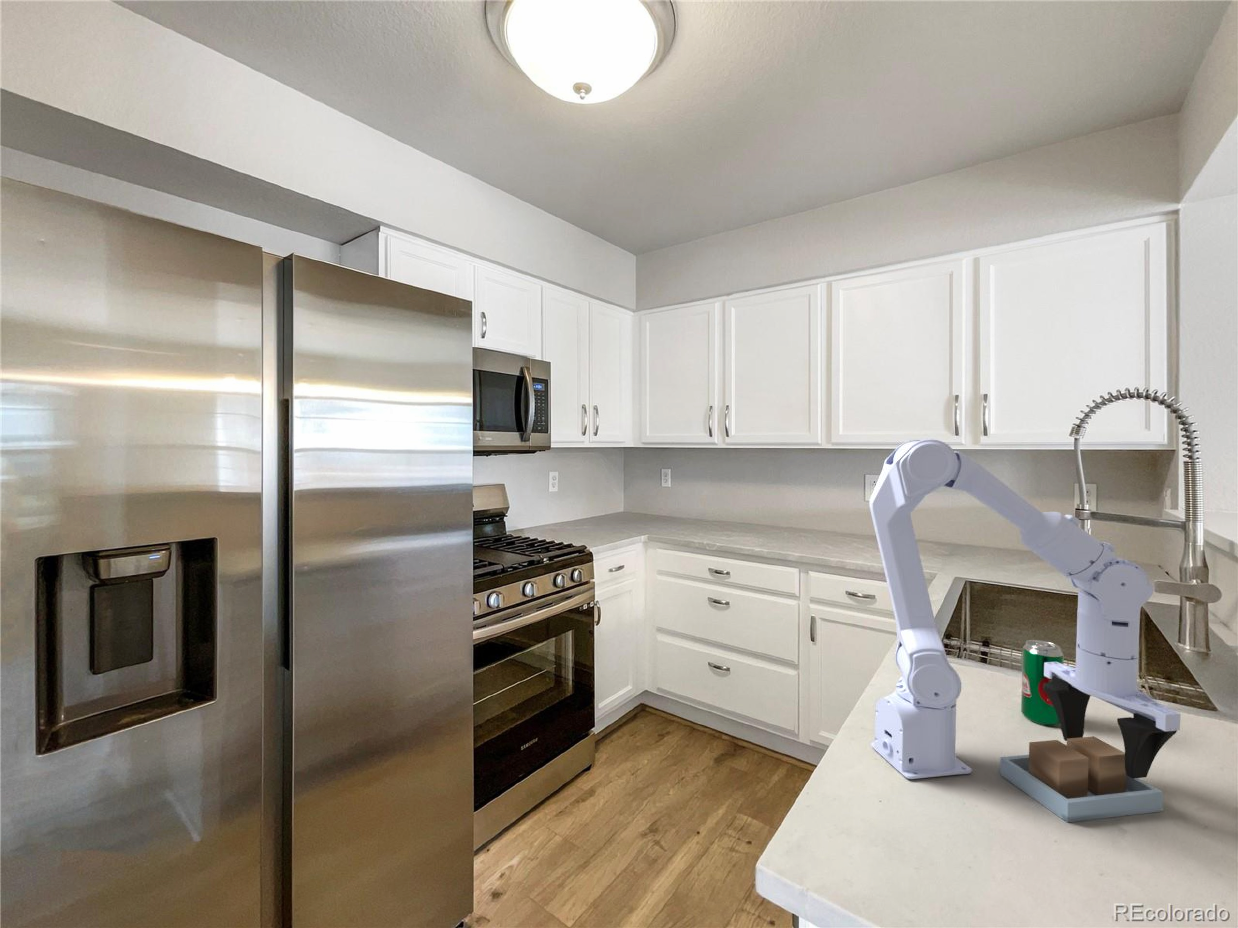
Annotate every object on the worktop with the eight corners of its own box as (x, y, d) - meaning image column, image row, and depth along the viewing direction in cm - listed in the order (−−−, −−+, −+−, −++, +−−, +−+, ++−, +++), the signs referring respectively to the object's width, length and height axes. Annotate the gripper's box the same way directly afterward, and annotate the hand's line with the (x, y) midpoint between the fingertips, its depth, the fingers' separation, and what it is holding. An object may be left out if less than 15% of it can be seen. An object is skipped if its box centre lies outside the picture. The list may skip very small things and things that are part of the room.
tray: (1067, 822, 61) (1067, 802, 61) (1000, 774, 70) (1000, 757, 70) (1162, 810, 63) (1163, 791, 63) (1085, 765, 72) (1085, 748, 71)
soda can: (1021, 708, 87) (1023, 636, 87) (1061, 718, 84) (1063, 643, 84) (1020, 720, 83) (1022, 645, 83) (1062, 731, 80) (1064, 653, 80)
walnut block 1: (1087, 798, 64) (1088, 757, 64) (1058, 801, 63) (1059, 760, 63) (1055, 777, 68) (1056, 739, 68) (1028, 780, 67) (1029, 742, 67)
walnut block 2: (1126, 793, 65) (1127, 753, 65) (1097, 796, 64) (1099, 756, 64) (1092, 773, 69) (1093, 736, 69) (1065, 776, 68) (1066, 738, 68)
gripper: (1204, 673, 59) (1200, 791, 60) (1076, 629, 74) (1073, 724, 74) (1151, 677, 58) (1147, 797, 59) (1031, 631, 73) (1029, 728, 73)
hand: (1102, 757), depth 67 cm, fingers open, 7 cm apart
